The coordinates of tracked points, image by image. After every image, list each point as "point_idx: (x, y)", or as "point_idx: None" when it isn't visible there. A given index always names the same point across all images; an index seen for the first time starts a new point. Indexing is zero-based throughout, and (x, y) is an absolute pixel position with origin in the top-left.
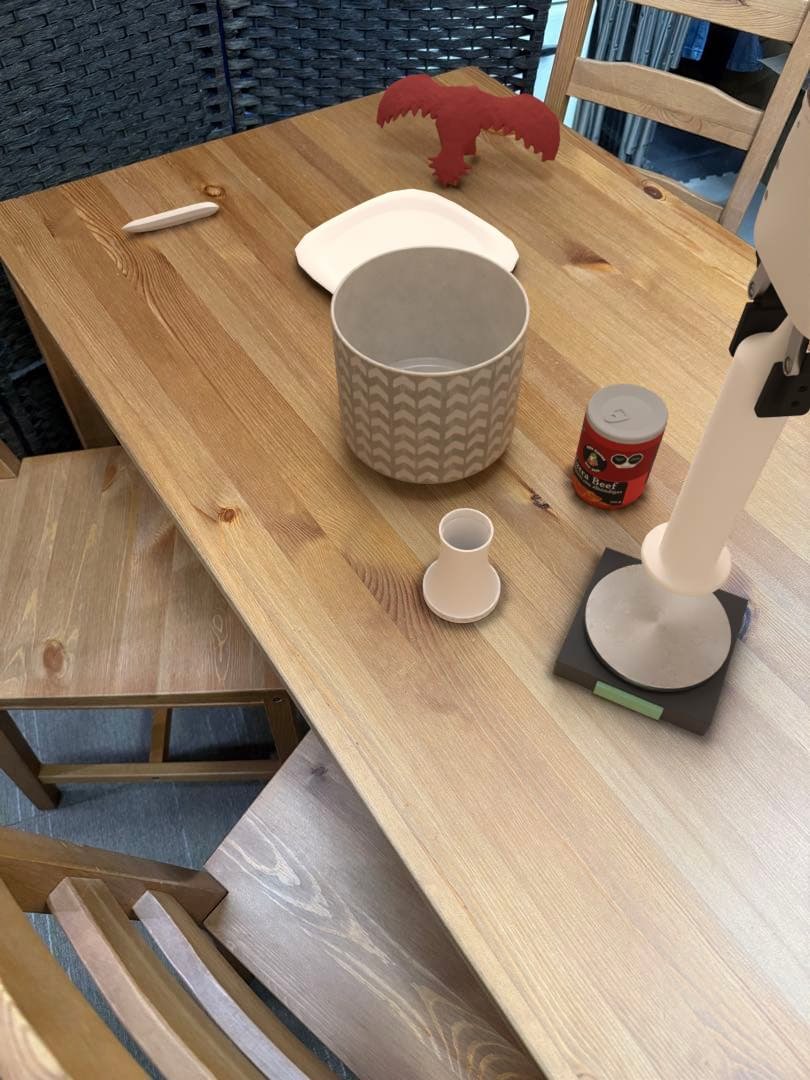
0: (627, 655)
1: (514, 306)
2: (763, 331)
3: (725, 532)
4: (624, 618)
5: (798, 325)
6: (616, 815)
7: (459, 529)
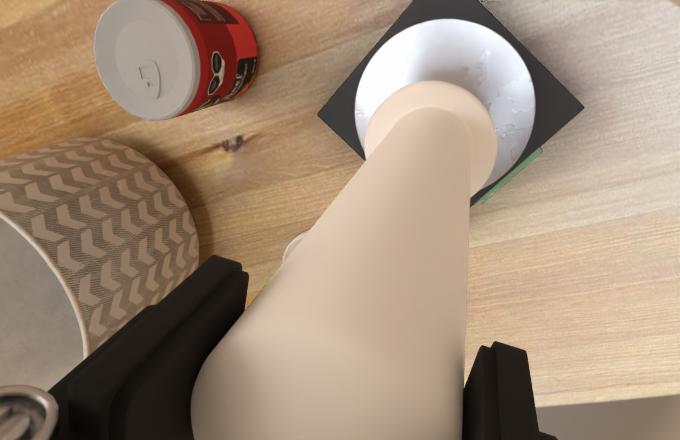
0: None
1: None
2: (185, 407)
3: (470, 174)
4: None
5: None
6: (616, 232)
7: None
